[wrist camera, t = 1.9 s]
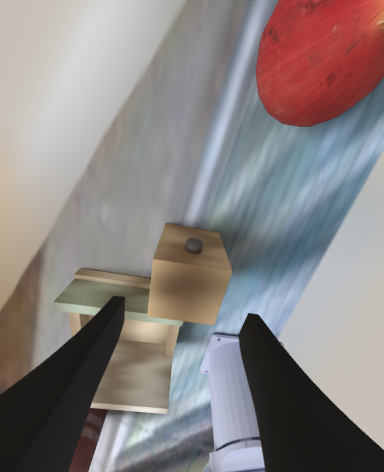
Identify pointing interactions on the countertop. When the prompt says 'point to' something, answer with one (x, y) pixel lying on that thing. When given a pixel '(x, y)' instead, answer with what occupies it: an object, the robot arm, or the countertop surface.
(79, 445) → the can
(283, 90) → the onion
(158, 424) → the countertop surface
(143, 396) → the wooden cubby shelf
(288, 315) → the countertop surface
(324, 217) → the countertop surface
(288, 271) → the countertop surface
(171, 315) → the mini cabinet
